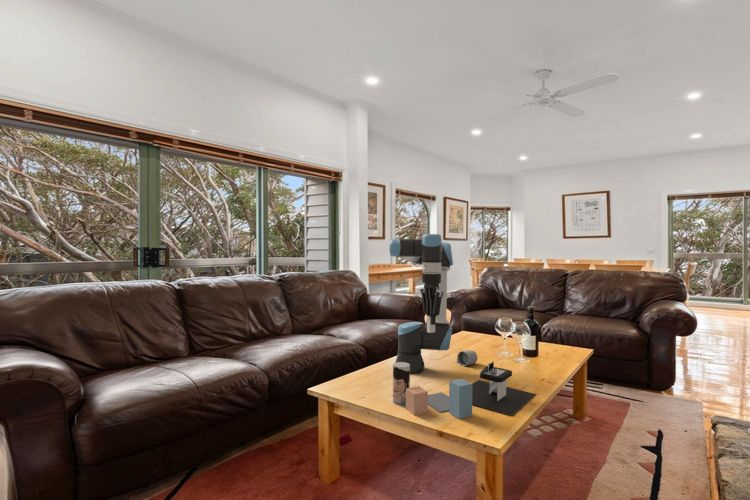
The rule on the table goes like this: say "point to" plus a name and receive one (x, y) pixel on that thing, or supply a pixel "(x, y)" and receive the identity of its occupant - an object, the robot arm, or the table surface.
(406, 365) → the white patterned canister
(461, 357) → the ceramic mug
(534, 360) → the table surface
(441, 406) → the charcoal mat
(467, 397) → the slate-blue block
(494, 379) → the black-topped pedestal
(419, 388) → the terracotta block
